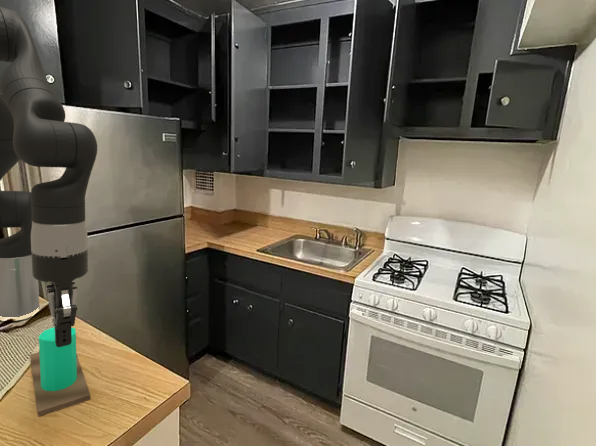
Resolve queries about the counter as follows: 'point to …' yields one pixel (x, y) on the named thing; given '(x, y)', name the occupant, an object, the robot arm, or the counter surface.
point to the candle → (57, 361)
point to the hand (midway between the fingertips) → (63, 344)
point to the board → (60, 398)
